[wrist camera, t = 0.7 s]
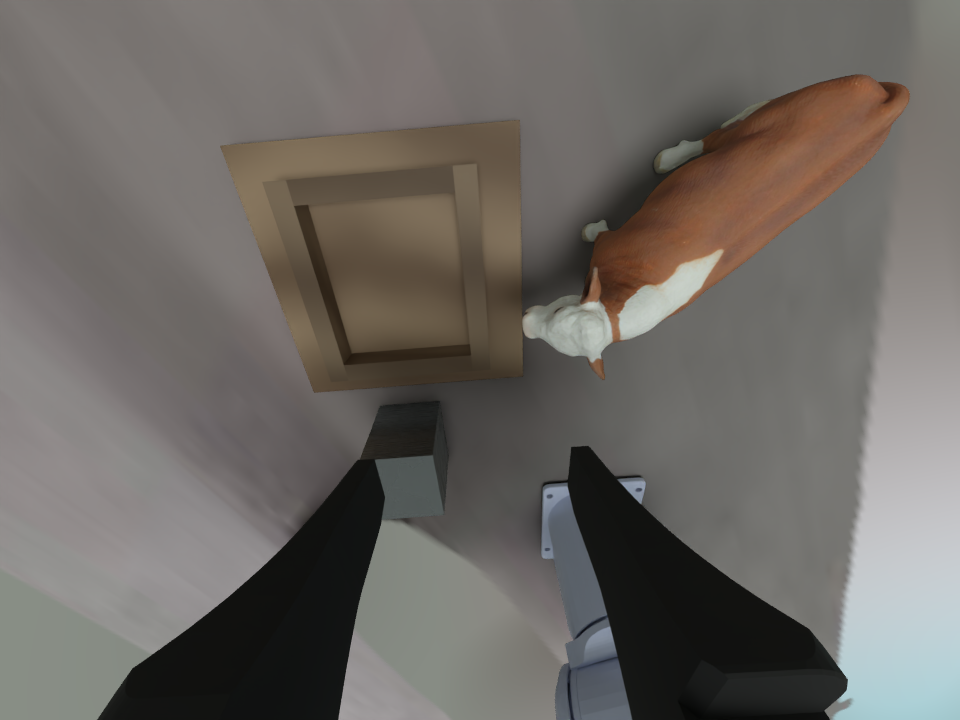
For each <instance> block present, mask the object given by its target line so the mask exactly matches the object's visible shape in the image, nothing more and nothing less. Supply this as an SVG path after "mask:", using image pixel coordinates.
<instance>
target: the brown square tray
mask: <svg viewBox="0 0 960 720" xmlns="http://www.w3.org/2000/svg"><path fill="white" fill-rule="evenodd" d="M220 147H221V150H222V152H223V155H224V157H225V160H226V163H227V165H228V168H229V171H230V173H231V176H232V178H233V181H234V184H235V186H236V189H237V192H238V194H239V197H240V199H241V202H242V205H243V207H244V210H245V213H246V215H247V218H248V220H249V223H250V226H251V228H252V231H253V234H254V236H255V239H256V241H257V244H258V247H259V249H260V252H261V254H262V257H263V260H264V262H265V265H266V268H267V270H268V273H269V275H270V278H271V281H272V283H273V286H274V289H275V291H276V294H277V296H278V299H279V302H280V304H281V307H282V310H283V312H284V315H285V317H286V320H287V323H288V325H289V328H290V331H291V333H292V336H293V338H294V341H295V344H296V346H297V349H298V352H299V354H300V357H301V359H302V362H303V365H304V367H305V370H306V373H307V375H308V378H309V380H310V383H311V386H312V388H313V391H314V393H315V392H328V391H341V390H354V389H367V388H380V387H392V386H405V385H418V384H431V383H444V382H457V381H470V380H483V379H495V378H508V377H521V376H523V336H522V261H521V186H520V120H514V121H502V122H490V123H479V124H467V125H456V126H444V127H432V128H421V129H409V130H398V131H386V132H374V133H363V134H351V135H340V136H328V137H316V138H305V139H293V140H281V141H270V142H258V143H247V144H235V145H223V146H220Z"/></svg>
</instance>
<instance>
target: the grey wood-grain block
mask: <svg viewBox="0 0 960 720" xmlns="http://www.w3.org/2000/svg"><path fill="white" fill-rule="evenodd" d="M365 459H375V462H376V466H377V470H378V473H379V477H380V480H381V484H382V487H383V491H384V494H385V502H384V509H383V515H382V519H396V518H409V517H423V516H437V515H444V511H445V497H446V483H447V470H448V450H447V444H446V437H445V431H444V425H443V419H442V413H441V407H440V401H437V402H424V403H411V404H398V405H385V406H380V408H379V410H378V413H377V416H376V418H375V421H374V424H373V426H372V429H371V432H370V434H369V437H368V439H367V442H366V445H365V447H364V450H363V453H362V455H361V458H360V460H365Z"/></svg>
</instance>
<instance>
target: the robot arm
mask: <svg viewBox="0 0 960 720" xmlns="http://www.w3.org/2000/svg"><path fill="white" fill-rule="evenodd" d="M645 486H646V482H645V481H644V479H643V478H639V477H638V478H624V479H616V477H615V476H614V475H613V474H612V473H611V472H610V471H609V469H608V468H607V467H606V466H605V465H604V464H603V462H602V461H601V460H600V459H599V458H598V456H597V455H596V454H595V453H594V452H593V450H592V449H591V448H590V447H589V446H581V447H571V456H570V466H569V476H568V483H557V484H547V485H545V486H544V487H543V493H542V533H541V555H542V557H543V558H544V559H554V564H555V568H556V573H557V578H558V582H559V587H560V591H561V596H562V601H563V605H564V610H565V614H566V619H567V624H568V628H569V631H570V634H571V636H572V638H573V641H571V642H568V643H566V644H565V646H566V651H567V656H568V661H569V663H567V664H564V665H563V666H562V667H561V670H560V672H559V677H558V682H557V686H556V693H555V709H556V719H557V720H830V719H829V717H828V716H827V714H826V713H825V711H824V710H825V709H826V708H828V707H829V706H830V705H831V704H832V703H834V702H835V701H836V700H837V699H838V698H839V697H841V696H842V695H843V693H844V692H845V691H846V690H847V682H848V679H847V678H846V676H845V675H844V674H843V672H842V671H841V670H840V668H839V667H838V666H837V664H836V663H835V661H834V660H833V659H832V657H831V656H830V655H829V653H828V652H827V650H826V649H825V648H824V647H823V645H822V644H821V643H820V642H819V640H818V639H817V638H816V637H815V636H814V634H813V633H812V632H811V631H810V630H809V629H808V628H807V627H805V626H803V625H802V624H800V623H799V622H797V621H795V620H794V619H792V618H790V617H789V616H787V615H786V614H784V613H782V612H781V611H779V610H777V609H776V608H774V607H773V606H771V605H769V604H768V603H766V602H765V601H763V600H761V599H760V598H758V597H757V596H755V595H754V594H752V593H751V592H749V591H748V590H746V589H745V588H743V587H742V586H741V585H739V584H738V583H736V582H735V581H733V580H732V579H730V578H729V577H728V576H726V575H725V574H723V573H722V572H721V571H719V570H718V569H717V568H715V567H714V566H713V565H711V564H710V563H709V562H707V561H706V560H705V559H703V558H702V557H701V556H699V555H698V554H697V553H695V552H694V551H693V550H692V549H690V548H689V547H688V546H687V545H686V544H684V543H683V542H682V541H681V540H679V539H678V538H677V537H676V536H675V535H674V534H672V533H671V532H670V531H669V530H668V529H667V528H666V527H664V526H663V525H662V524H661V523H660V522H659V521H658V520H657V519H656V518H655V517H654V516H653V515H651V514H650V513H649V512H648V511H647V510H646V509H645V508H644V507H643V506H642V505H641V503H642V499H643V494H644V490H645ZM384 502H385V494H384V491H383V487H382V484H381V480H380V477H379V473H378V470H377V466H376V462H375V459H365V460H357V461H356V463H355V464H354V465H353V466H352V468H351V469H350V470H349V471H348V473H347V474H346V475H345V476H344V478H343V479H342V480H341V482H340V483H339V484H338V485H337V487H336V488H335V489H334V490H333V492H332V493H331V494H330V495H329V496H328V498H327V499H326V500H325V501H324V502H323V504H322V505H321V506H320V507H319V508H318V510H317V511H316V512H315V513H314V514H313V515H312V516H311V518H310V519H309V520H308V521H307V522H306V523H305V524H304V525H303V526H302V528H301V529H300V530H299V531H298V532H297V533H296V534H295V535H294V536H293V537H292V538H291V539H290V540H289V542H288V543H287V544H286V545H285V546H284V547H283V548H282V549H281V550H280V551H279V552H278V553H277V554H276V555H275V556H274V557H273V558H271V559H270V560H269V561H268V562H267V563H266V564H265V565H264V566H263V567H262V568H261V569H260V570H259V571H258V572H256V573H255V574H254V575H253V576H252V577H251V578H250V579H249V580H247V581H246V582H245V583H244V584H243V585H242V586H241V587H239V588H238V589H237V590H236V591H235V592H234V593H233V594H231V595H230V596H229V597H228V598H227V599H225V600H224V601H223V602H222V603H220V604H219V605H218V606H217V607H215V608H214V609H213V610H212V611H211V612H209V613H208V614H207V615H205V616H204V617H203V618H201V619H200V620H199V621H198V622H196V623H195V624H194V625H192V626H191V627H190V628H188V629H187V630H186V631H184V632H183V633H182V634H180V635H179V636H178V637H176V638H175V639H174V640H172V641H171V642H169V643H168V644H167V645H165V646H164V647H162V648H161V649H160V650H158V651H157V652H155V653H154V654H153V655H151V656H150V657H149V658H147V659H146V660H144V661H143V662H141V663H140V664H138V665H137V666H135V667H134V668H133V669H132V670H131V671H130V673H129V674H128V676H127V677H126V679H125V680H124V681H123V683H122V684H121V686H120V687H119V688H118V690H117V691H116V693H115V694H114V696H113V697H112V699H111V700H110V702H109V703H108V705H107V706H106V708H105V709H104V711H103V712H102V713H101V715H100V716H99V718H98V719H97V720H338V717H339V711H340V705H341V698H342V692H343V686H344V680H345V673H346V668H347V662H348V657H349V651H350V645H351V640H352V635H353V630H354V624H355V619H356V614H357V609H358V605H359V600H360V597H361V592H362V589H363V585H364V582H365V578H366V575H367V572H368V568H369V564H370V561H371V557H372V554H373V550H374V547H375V544H376V540H377V537H378V533H379V529H380V526H381V520H382V515H383V509H384Z"/></svg>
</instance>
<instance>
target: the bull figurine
mask: <svg viewBox="0 0 960 720" xmlns="http://www.w3.org/2000/svg"><path fill="white" fill-rule="evenodd" d="M909 96H910V93H909V90H908V89H907V88H906V87H905V86H903V85H901V84H898V83H891V82H877V81H875V80H874V79H873V78H871V77H870V76H867V75H851V76H845V77H840V78H836V79H832V80H828V81H824V82H819V83H816V84H813V85H810V86H807V87H805V88H802V89H800V90H797V91H794V92H791V93H788V94H786V95H783V96H781V97H778V98H776V99H771V100H766V101H762V102H759V103H756V104H753V105H751V106H749V107H748V108H746V109H745V110H744V111H742V112H741V113H740V114H738V115H736V116H735V117H734V118H732V119H730V120H728V121H726V122H725V123H723V124H722V126H721V129H717V130H715V131H713V132H712V133H711V134H709V135H708V136H707V137H705V138H703V139H702V140H699V141H695V142H689V141H687V140H683V141H681V142H680V143H679V145H678V146H676V147H672V148H669V149H665V150H662V151H661V152H660V153H659V154H658V155H657V156H656V158H655V160H654V169H655V171H656V173H660V174H663V173H666V172H668V171H670V170H672V169H674V168H676V167H677V166H679V165H681V164H682V163H684V162H686V161H687V160H688V159H690V158H692V157H694V156H697V155H700V154H705V153H709V154H707V155H704V156H701V157H699V158H697V159H695V160H693V161H690V162H689V163H687V164H685V165H683V166H682V167H680V168H679V169H677V170H676V171H674V172H673V173H672V174H670V175H669V176H668V177H667V178H666V179H664V180H663V181H662V182H661V183H660V184H659V185H658V186H657V187H656V188H655V189H654V190H653V192H652V193H651V194H650V195H649V196H648V198H647V199H646V200H645V202H644V203H643V205H642V207H641V209H640V210H639V211H638V212H637V213H636V214H634V215H633V216H632V217H631V218H630V219H629V220H628V221H627V222H626V223H625V224H624V225H623V226H622V227H620V228H619V229H617V230H616V231H611V230H608V228H607V222H606V221H605V220H601V221H600V222H599V223H589V224H587V225H585V226H584V228H583V229H582V232H581V236H582V239H583V240H584V241H586V242H594V245H595V246H594V248H593V256H592V258H591V262H590V271H589V273H588V275H587V277H586V279H585V288H584V290H583V293H582V294H581V295H580V296H577V295H568V296H564V297H560V298H559V299H557V300H556V301H554V302H552V303H551V304H549V305H548V306H541V305H538V306H533V307H530V308H529V309H527V310H526V311H525V314H524V317H523V319H522V326H523V331H524V334H525V336H526V337H528V338H531V339H535V338H541V339H543V340H545V341H546V342H547V343H548V344H549V345H551V346H552V347H554V348H555V349H556V350H557V351H559V352H561V353H564V354H566V355H569V356H586V357H587V359H588V362H589V365H590V367H591V368H592V370H593V371H594V372H595V373H596V374H597V375H598V376H599V377H600V378H601V379H602V380H604V379H605V374H604V369H603V360H602V357H601V352H602V351H603V349H604V348H605V347H606V346H607V345H609V344H610V343H614V342H620V341H624V340H628V339H631V338H634V337H636V336H638V335H641V334H643V333H645V332H647V331H649V330H650V329H652V328H653V327H654V326H656V325H657V324H658V323H659V322H661V321H663V320H664V319H666V318H668V317H670V316H672V315H675V314H677V313H678V312H680V311H682V310H683V309H685V308H686V307H687V306H689V305H690V304H691V303H692V302H694V301H695V300H696V299H697V298H698V297H699V296H700V295H701V294H702V293H704V292H705V291H706V290H707V289H709V288H710V287H712V286H713V285H715V284H716V283H718V282H719V281H721V280H722V279H723V278H724V277H726V276H727V275H728V274H730V273H731V272H732V271H734V270H735V269H736V268H738V267H739V266H740V265H742V264H743V263H744V262H746V261H747V260H748V259H749V258H751V257H752V256H753V255H754V254H755V253H757V252H758V251H759V250H760V249H762V248H763V247H764V246H765V245H766V244H768V243H769V242H770V241H771V240H772V239H774V238H775V237H776V236H777V235H778V234H780V233H781V232H782V231H783V230H785V229H786V228H787V227H789V226H790V225H791V224H793V223H794V222H795V221H796V220H798V219H799V218H801V217H802V216H803V215H805V214H806V213H808V212H809V211H811V210H812V209H813V208H815V207H816V206H817V205H818V204H820V203H821V202H822V201H824V200H825V199H826V198H827V197H828V196H830V195H831V194H832V193H833V192H835V191H836V190H837V189H838V188H839V187H840V186H841V185H843V184H844V183H845V182H846V181H847V180H848V179H849V178H851V177H852V176H853V175H854V174H855V173H856V172H857V171H859V170H860V169H861V168H862V167H863V166H864V165H865V164H866V163H867V162H868V161H869V160H870V159H871V158H872V157H873V156H874V155H875V153H876V152H877V151H878V150H879V148H880V147H881V145H882V144H883V143H884V141H885V139H886V138H887V136H888V134H889V132H890V128H891V125H892V124H893V122H894V121H895V120H896V119H897V118H898V117H899V116H900V115H901V114H902V112H903V111H904V109H905V107H906V106H907V104H908V102H909Z"/></svg>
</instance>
